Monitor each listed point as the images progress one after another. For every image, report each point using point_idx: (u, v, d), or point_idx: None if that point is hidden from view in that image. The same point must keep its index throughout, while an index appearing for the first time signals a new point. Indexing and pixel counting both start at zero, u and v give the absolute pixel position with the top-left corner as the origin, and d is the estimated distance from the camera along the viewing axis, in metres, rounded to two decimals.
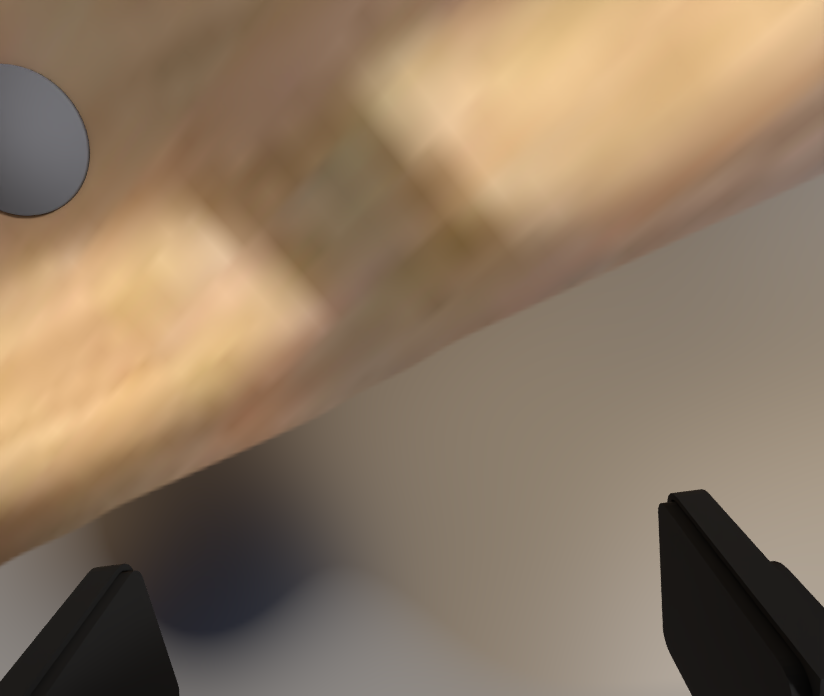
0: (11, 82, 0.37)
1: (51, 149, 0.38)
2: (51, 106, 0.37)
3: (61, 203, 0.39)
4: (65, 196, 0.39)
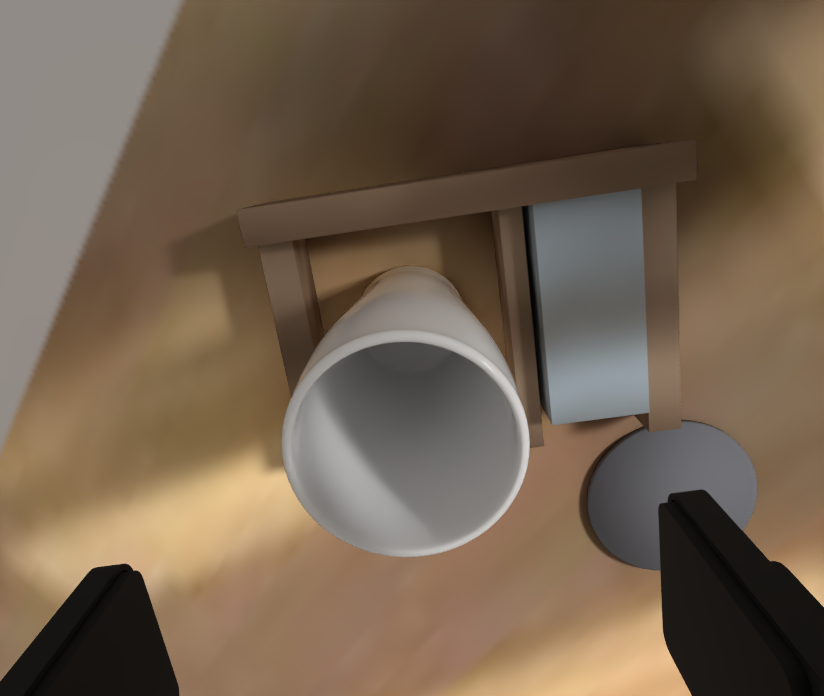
0: (690, 441, 0.32)
1: None
2: (728, 465, 0.32)
3: None
4: None
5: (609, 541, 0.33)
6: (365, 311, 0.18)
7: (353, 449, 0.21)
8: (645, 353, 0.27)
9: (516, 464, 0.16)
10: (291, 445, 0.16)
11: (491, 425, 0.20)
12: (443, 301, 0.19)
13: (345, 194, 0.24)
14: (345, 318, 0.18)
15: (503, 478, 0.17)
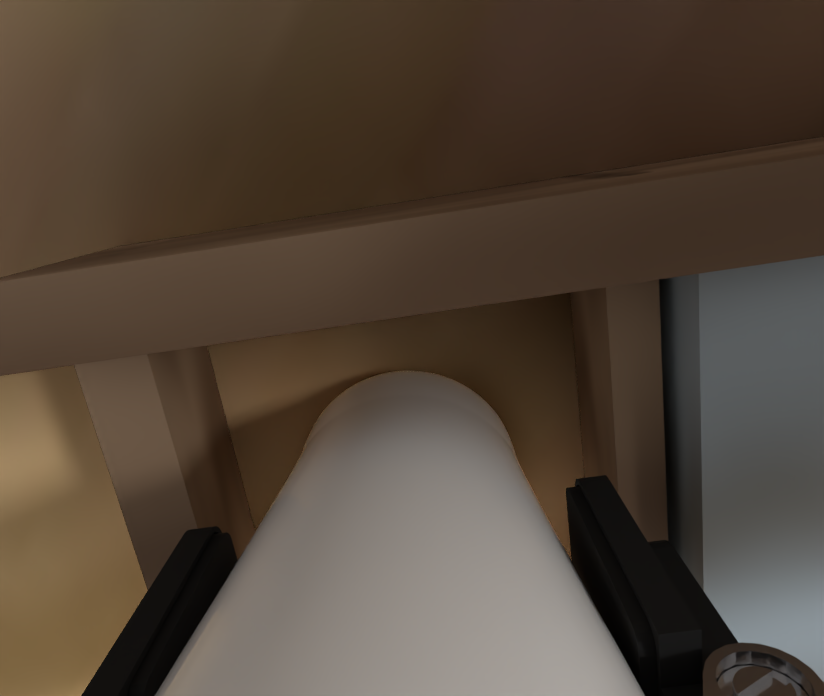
0: None
1: None
2: None
3: None
4: None
5: None
6: None
7: None
8: None
9: None
10: None
11: None
12: None
13: (239, 247, 0.09)
14: None
15: None
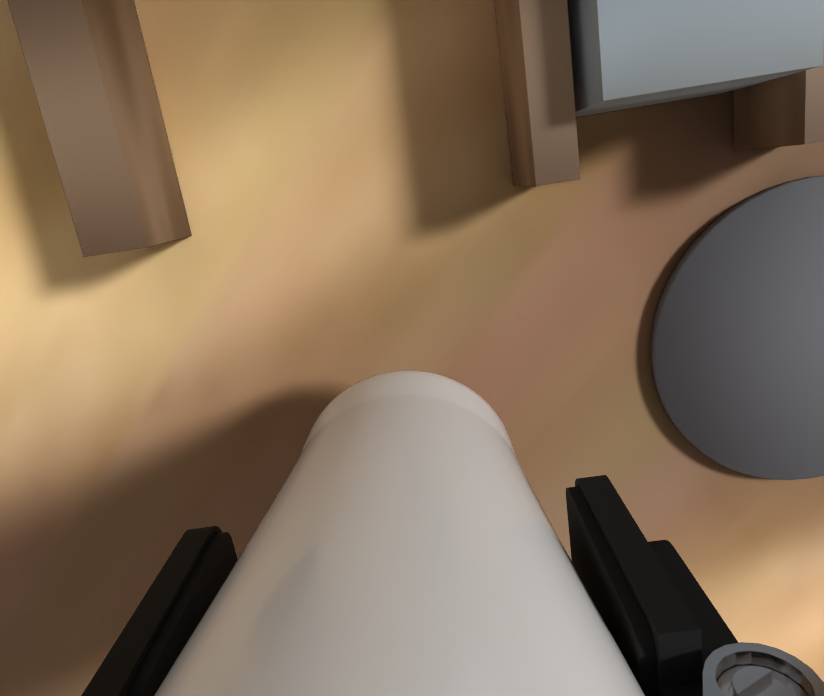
0: None
1: None
2: None
3: None
4: None
5: (692, 424, 0.18)
6: None
7: None
8: None
9: None
10: None
11: None
12: None
13: None
14: None
15: None
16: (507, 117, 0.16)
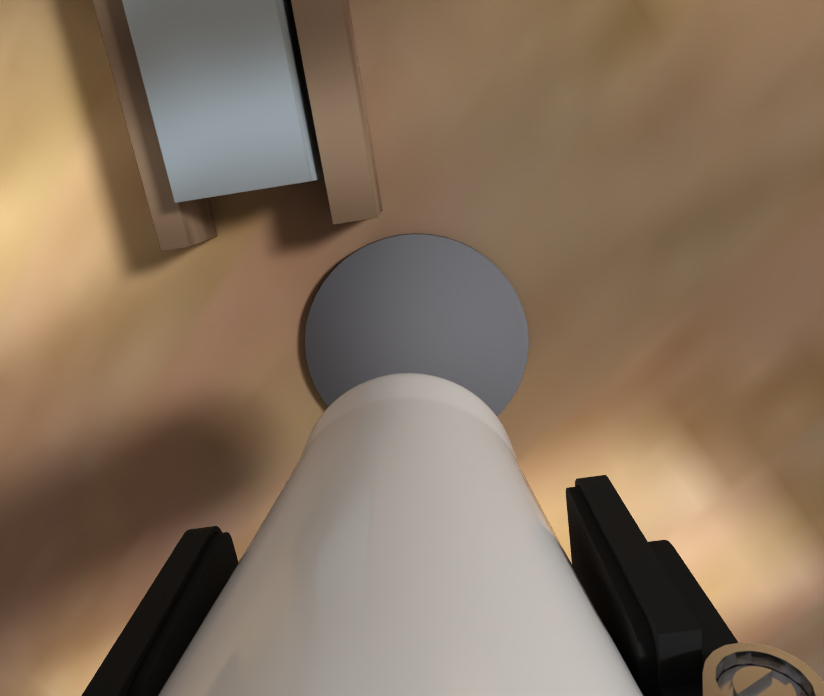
0: (429, 262, 0.23)
1: (472, 358, 0.24)
2: (485, 297, 0.24)
3: None
4: None
5: None
6: None
7: None
8: (288, 84, 0.18)
9: None
10: None
11: None
12: None
13: None
14: None
15: None
16: None
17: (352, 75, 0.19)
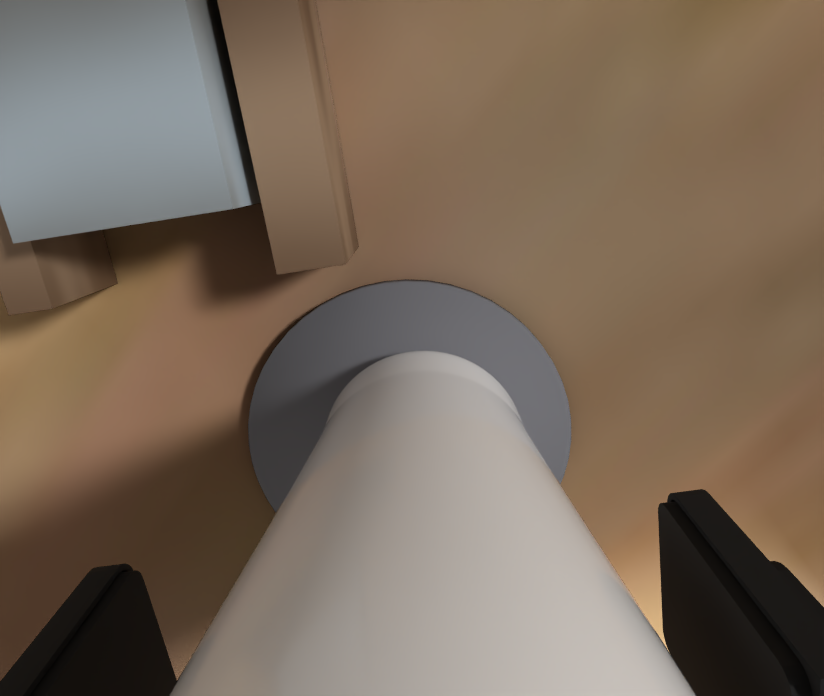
0: (428, 321, 0.16)
1: None
2: (510, 371, 0.16)
3: None
4: None
5: None
6: None
7: None
8: (191, 47, 0.11)
9: None
10: None
11: None
12: (559, 630, 0.05)
13: None
14: None
15: None
16: None
17: (302, 36, 0.12)
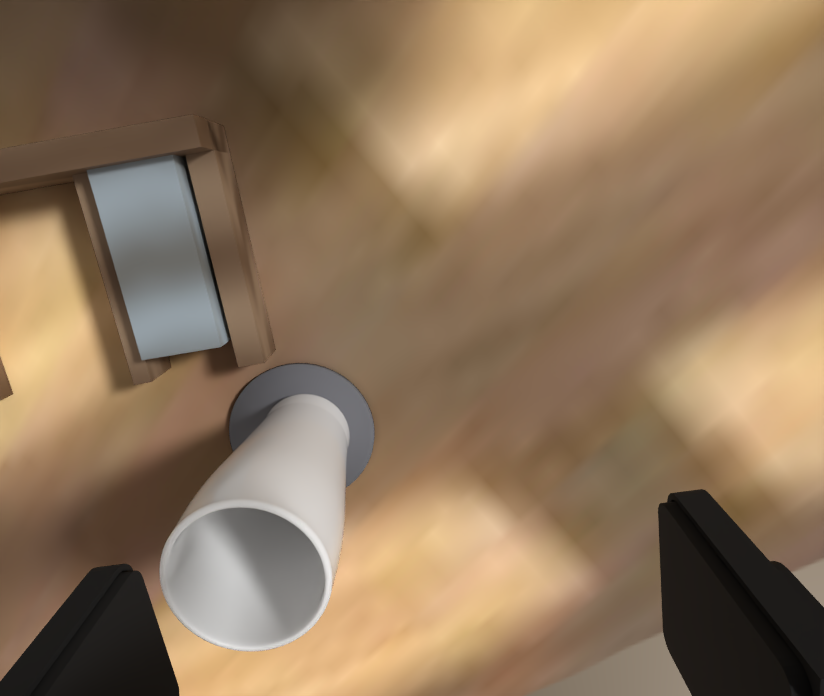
0: (306, 381, 0.37)
1: None
2: (343, 401, 0.37)
3: None
4: (347, 482, 0.38)
5: None
6: (226, 472, 0.25)
7: (235, 560, 0.28)
8: (206, 295, 0.32)
9: (324, 585, 0.23)
10: (166, 577, 0.23)
11: None
12: (289, 457, 0.26)
13: None
14: (215, 475, 0.25)
15: (322, 592, 0.24)
16: None
17: (245, 285, 0.33)
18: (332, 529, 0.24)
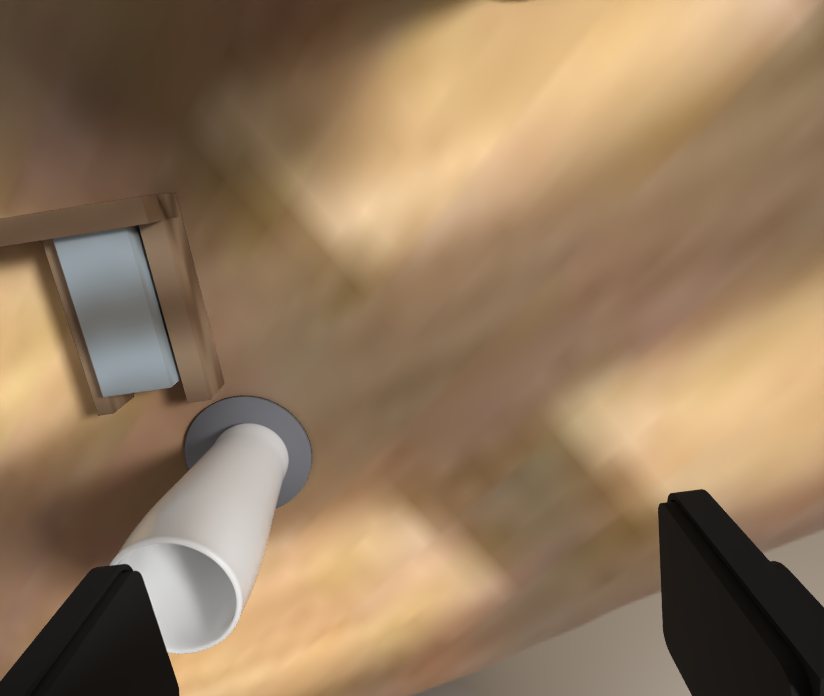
0: (251, 411, 0.42)
1: None
2: (284, 429, 0.42)
3: (284, 503, 0.44)
4: (288, 497, 0.44)
5: None
6: (161, 508, 0.30)
7: (175, 574, 0.34)
8: (157, 344, 0.37)
9: None
10: None
11: None
12: (216, 494, 0.32)
13: None
14: (153, 509, 0.31)
15: None
16: None
17: (192, 334, 0.38)
18: (246, 557, 0.30)
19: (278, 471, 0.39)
